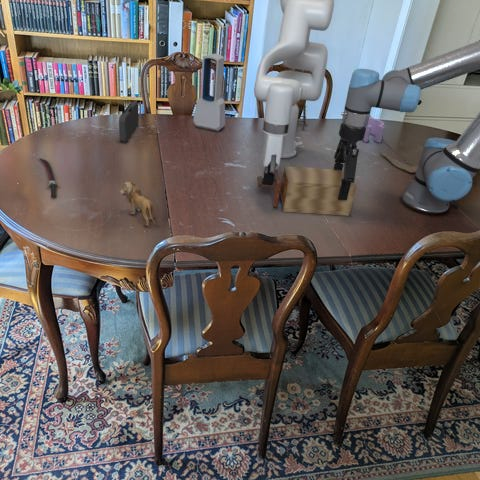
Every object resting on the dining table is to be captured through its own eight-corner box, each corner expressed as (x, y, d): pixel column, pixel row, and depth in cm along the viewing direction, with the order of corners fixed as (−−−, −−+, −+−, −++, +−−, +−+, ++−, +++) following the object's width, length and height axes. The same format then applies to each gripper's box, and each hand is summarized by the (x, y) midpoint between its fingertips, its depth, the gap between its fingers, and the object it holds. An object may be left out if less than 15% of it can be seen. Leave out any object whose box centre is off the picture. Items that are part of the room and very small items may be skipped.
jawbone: (419, 178, 180) (420, 173, 178) (370, 161, 190) (371, 157, 189) (428, 170, 185) (429, 165, 184) (380, 154, 196) (381, 150, 195)
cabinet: (283, 211, 147) (288, 181, 141) (280, 194, 156) (284, 166, 151) (349, 215, 148) (356, 186, 143) (342, 198, 158) (348, 170, 152)
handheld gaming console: (132, 123, 200) (131, 100, 194) (138, 124, 200) (138, 100, 194) (118, 143, 180) (117, 117, 175) (125, 143, 180) (124, 118, 175)
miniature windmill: (304, 130, 212) (315, 61, 196) (285, 127, 213) (296, 59, 197) (305, 124, 220) (317, 57, 204) (288, 121, 221) (298, 55, 205)
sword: (61, 197, 141) (61, 193, 140) (50, 198, 139) (50, 194, 139) (49, 160, 164) (48, 156, 163) (39, 160, 163) (39, 157, 162)
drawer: (256, 205, 146) (259, 181, 142) (254, 191, 155) (257, 167, 150) (335, 211, 148) (340, 187, 143) (329, 196, 156) (334, 173, 152)
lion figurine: (118, 210, 138) (116, 182, 133) (132, 204, 141) (131, 177, 137) (151, 229, 130) (150, 201, 126) (165, 223, 134) (165, 195, 129)
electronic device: (225, 127, 206) (230, 56, 190) (219, 132, 200) (224, 59, 184) (199, 122, 209) (202, 51, 193) (192, 127, 203) (195, 54, 187)
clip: (343, 126, 223) (346, 112, 219) (367, 127, 225) (371, 113, 221) (360, 142, 206) (364, 127, 202) (386, 142, 209) (390, 127, 205)
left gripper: (261, 118, 144) (254, 173, 153) (265, 134, 131) (257, 193, 140) (285, 120, 144) (277, 175, 154) (291, 136, 131) (282, 195, 141)
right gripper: (334, 110, 147) (320, 173, 159) (350, 138, 128) (333, 207, 139) (357, 112, 148) (342, 175, 160) (376, 140, 128) (358, 209, 140)
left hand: (267, 184), depth 147 cm, fingers closed
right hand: (338, 190), depth 150 cm, fingers closed on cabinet, 11 cm apart
